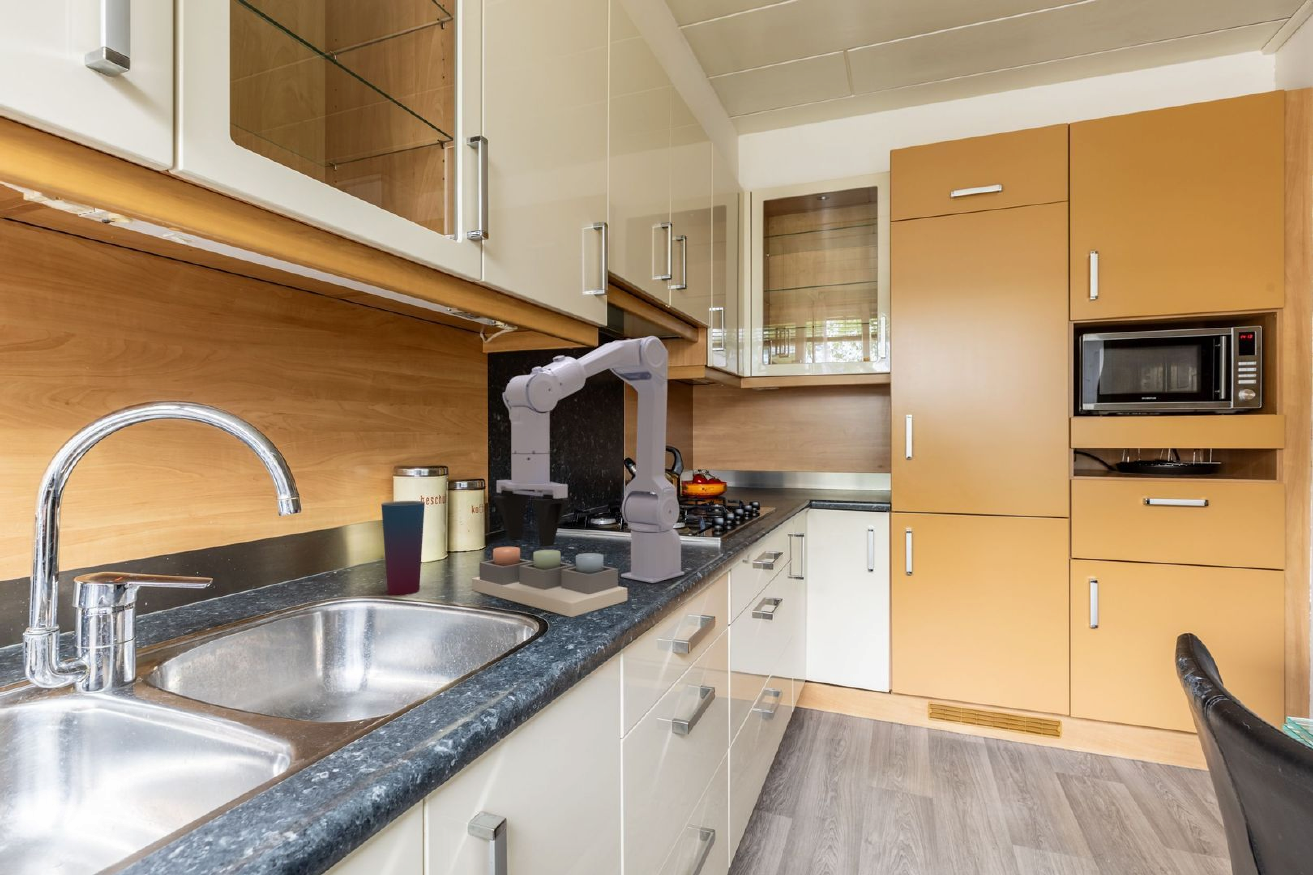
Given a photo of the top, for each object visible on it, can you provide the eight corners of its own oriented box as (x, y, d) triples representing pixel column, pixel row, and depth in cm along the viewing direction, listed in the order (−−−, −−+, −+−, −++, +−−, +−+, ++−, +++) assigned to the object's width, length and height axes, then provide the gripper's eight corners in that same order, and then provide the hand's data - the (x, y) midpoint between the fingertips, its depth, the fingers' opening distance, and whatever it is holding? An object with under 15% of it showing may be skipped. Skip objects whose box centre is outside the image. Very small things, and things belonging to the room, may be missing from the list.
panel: (527, 577, 119) (527, 551, 119) (627, 600, 103) (627, 570, 103) (471, 589, 110) (471, 561, 110) (571, 617, 93) (571, 583, 93)
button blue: (590, 566, 106) (589, 552, 106) (609, 570, 103) (609, 555, 103) (570, 570, 103) (570, 555, 103) (589, 574, 100) (589, 559, 100)
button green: (548, 562, 109) (548, 548, 109) (566, 566, 106) (566, 551, 106) (527, 567, 106) (527, 552, 106) (545, 570, 103) (545, 555, 103)
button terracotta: (509, 559, 112) (509, 545, 112) (525, 562, 109) (525, 548, 109) (488, 563, 109) (487, 549, 109) (503, 566, 106) (503, 552, 106)
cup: (415, 596, 105) (415, 505, 105) (374, 596, 105) (374, 505, 105) (431, 586, 112) (430, 500, 112) (392, 586, 112) (392, 500, 112)
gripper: (480, 453, 99) (480, 540, 99) (541, 455, 90) (541, 552, 90) (517, 452, 105) (517, 535, 105) (578, 454, 95) (578, 545, 95)
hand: (530, 542), depth 98 cm, fingers open, 7 cm apart
